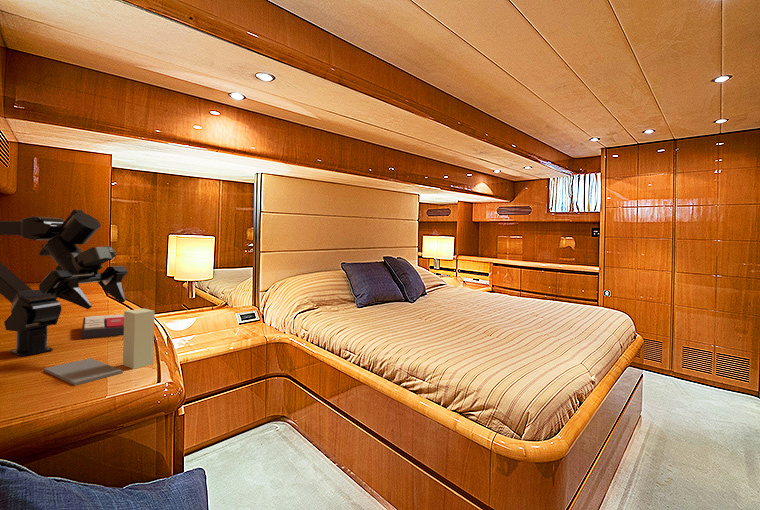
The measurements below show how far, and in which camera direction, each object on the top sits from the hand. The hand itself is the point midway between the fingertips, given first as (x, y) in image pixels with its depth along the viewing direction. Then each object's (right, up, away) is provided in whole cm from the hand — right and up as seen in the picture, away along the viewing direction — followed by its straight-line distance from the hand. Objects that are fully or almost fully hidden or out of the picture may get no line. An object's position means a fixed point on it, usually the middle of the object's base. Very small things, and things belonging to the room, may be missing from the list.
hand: (107, 304), depth 91 cm
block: (+8, -14, -1) cm, 16 cm away
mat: (0, -14, -7) cm, 16 cm away
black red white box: (-20, -12, +26) cm, 35 cm away
